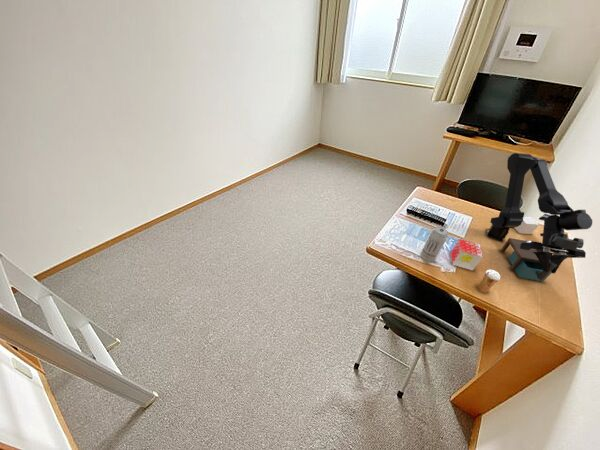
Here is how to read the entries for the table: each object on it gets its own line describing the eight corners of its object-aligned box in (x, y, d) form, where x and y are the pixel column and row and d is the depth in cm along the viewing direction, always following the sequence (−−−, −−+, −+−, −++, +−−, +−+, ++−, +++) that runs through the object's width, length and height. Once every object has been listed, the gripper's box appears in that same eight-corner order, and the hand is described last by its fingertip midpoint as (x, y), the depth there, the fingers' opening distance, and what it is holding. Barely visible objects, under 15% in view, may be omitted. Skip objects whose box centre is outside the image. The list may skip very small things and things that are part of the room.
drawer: (507, 258, 117) (523, 238, 110) (530, 262, 116) (547, 242, 109) (522, 284, 106) (541, 263, 99) (547, 288, 105) (568, 268, 98)
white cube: (512, 225, 137) (519, 216, 134) (523, 226, 137) (531, 217, 134) (519, 233, 133) (526, 223, 129) (531, 234, 133) (539, 224, 129)
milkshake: (471, 284, 104) (484, 266, 98) (484, 284, 105) (497, 266, 98) (478, 294, 100) (492, 276, 94) (491, 293, 101) (506, 276, 95)
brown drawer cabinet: (499, 250, 121) (509, 237, 116) (528, 255, 120) (539, 243, 115) (510, 270, 112) (521, 257, 107) (542, 276, 111) (554, 263, 106)
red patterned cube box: (452, 264, 112) (460, 250, 107) (450, 252, 118) (459, 238, 113) (473, 270, 110) (482, 256, 105) (470, 257, 116) (479, 244, 111)
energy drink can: (416, 257, 113) (430, 230, 104) (422, 250, 117) (436, 223, 107) (430, 265, 110) (446, 238, 101) (436, 258, 114) (451, 231, 104)
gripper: (544, 224, 95) (540, 268, 93) (602, 233, 93) (599, 279, 91) (521, 227, 106) (517, 267, 104) (572, 236, 104) (569, 277, 102)
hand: (549, 272), depth 100 cm, fingers closed on drawer, 2 cm apart
